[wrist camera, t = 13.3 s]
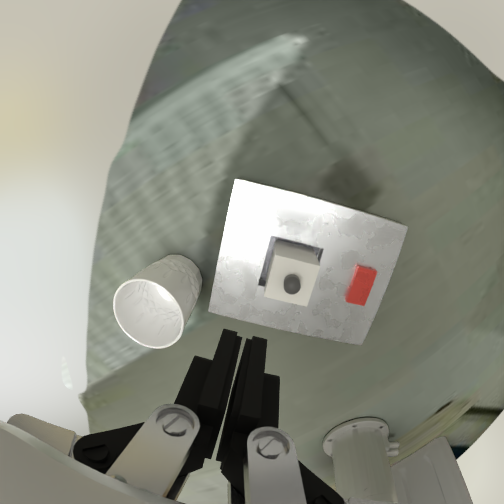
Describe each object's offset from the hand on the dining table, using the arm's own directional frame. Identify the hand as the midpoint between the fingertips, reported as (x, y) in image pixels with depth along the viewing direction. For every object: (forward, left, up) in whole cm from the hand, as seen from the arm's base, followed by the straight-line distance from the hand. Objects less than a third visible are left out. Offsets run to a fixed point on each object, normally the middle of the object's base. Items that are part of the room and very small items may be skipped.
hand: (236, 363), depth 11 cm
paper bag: (-50, +41, -24) cm, 69 cm away
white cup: (+9, +9, -24) cm, 28 cm away
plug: (-4, +3, -24) cm, 24 cm away
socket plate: (-6, +3, -24) cm, 25 cm away
